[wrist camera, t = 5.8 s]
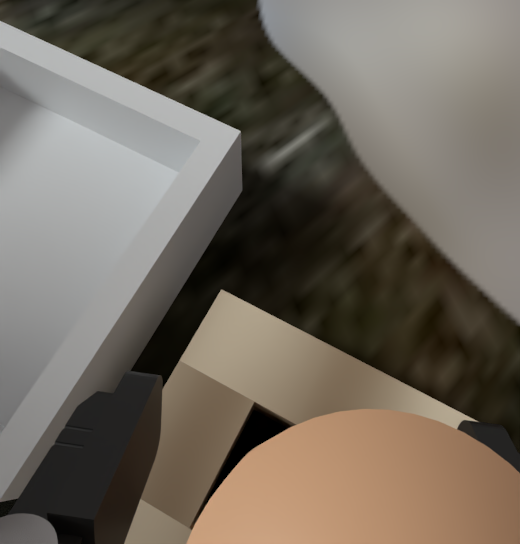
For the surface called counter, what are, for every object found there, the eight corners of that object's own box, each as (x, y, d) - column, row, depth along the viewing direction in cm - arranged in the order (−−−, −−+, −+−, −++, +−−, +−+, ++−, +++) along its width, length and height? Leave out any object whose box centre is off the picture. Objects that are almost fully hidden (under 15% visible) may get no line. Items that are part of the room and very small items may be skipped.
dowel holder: (88, 552, 16) (53, 574, 13) (225, 313, 18) (221, 289, 16) (343, 713, 14) (365, 778, 11) (447, 430, 17) (487, 426, 14)
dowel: (216, 508, 16) (71, 765, 3) (258, 425, 17) (288, 341, 4) (296, 556, 16) (543, 1104, 3) (335, 468, 17) (661, 534, 3)
